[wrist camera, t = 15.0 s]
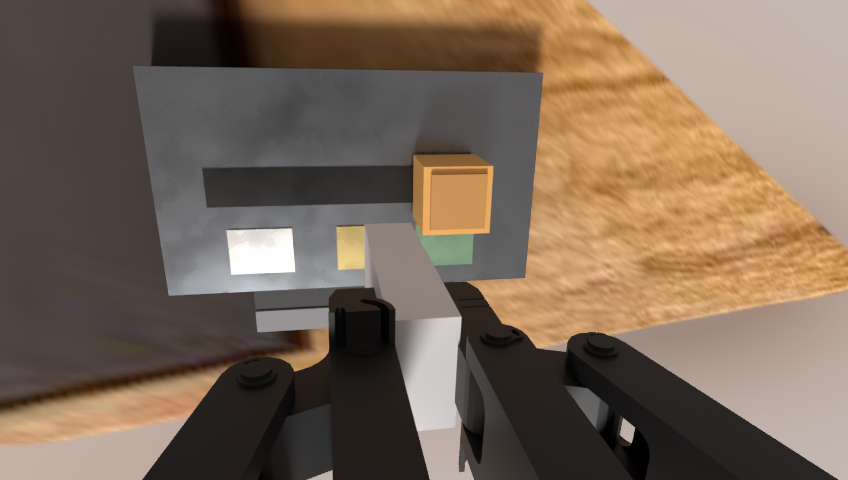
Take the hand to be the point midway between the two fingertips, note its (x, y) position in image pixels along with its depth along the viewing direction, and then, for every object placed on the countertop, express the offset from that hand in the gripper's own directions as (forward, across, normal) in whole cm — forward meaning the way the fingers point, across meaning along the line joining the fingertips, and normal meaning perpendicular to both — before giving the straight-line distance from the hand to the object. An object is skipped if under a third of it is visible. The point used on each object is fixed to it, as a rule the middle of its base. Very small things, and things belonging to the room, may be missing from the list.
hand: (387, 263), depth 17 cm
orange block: (+16, +6, -1) cm, 17 cm away
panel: (+20, 0, -1) cm, 20 cm away
